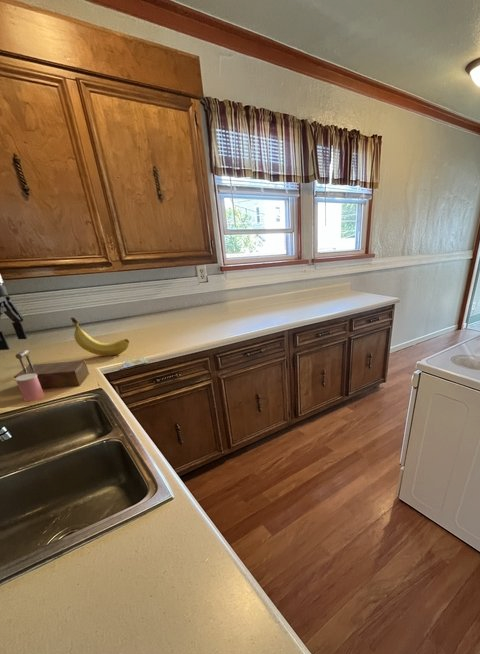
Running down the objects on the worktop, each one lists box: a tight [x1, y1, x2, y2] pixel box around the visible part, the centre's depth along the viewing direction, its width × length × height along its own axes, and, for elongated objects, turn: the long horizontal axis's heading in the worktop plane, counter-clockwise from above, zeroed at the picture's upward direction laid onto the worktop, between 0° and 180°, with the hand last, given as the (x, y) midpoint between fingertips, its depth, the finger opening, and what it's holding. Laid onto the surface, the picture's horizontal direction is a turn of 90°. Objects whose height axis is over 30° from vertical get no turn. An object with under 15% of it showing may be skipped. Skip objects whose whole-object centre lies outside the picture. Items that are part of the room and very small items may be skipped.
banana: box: [70, 316, 130, 357], centre depth 160 cm, size 23×6×20 cm, turn 111°
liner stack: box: [14, 374, 45, 402], centre depth 118 cm, size 6×6×9 cm
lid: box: [13, 348, 86, 379], centre depth 128 cm, size 20×13×8 cm, turn 105°
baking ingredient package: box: [119, 357, 149, 370], centre depth 152 cm, size 9×1×15 cm
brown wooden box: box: [37, 361, 90, 391], centre depth 131 cm, size 20×13×6 cm, turn 105°
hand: (14, 344), depth 122 cm, fingers open, 13 cm apart
